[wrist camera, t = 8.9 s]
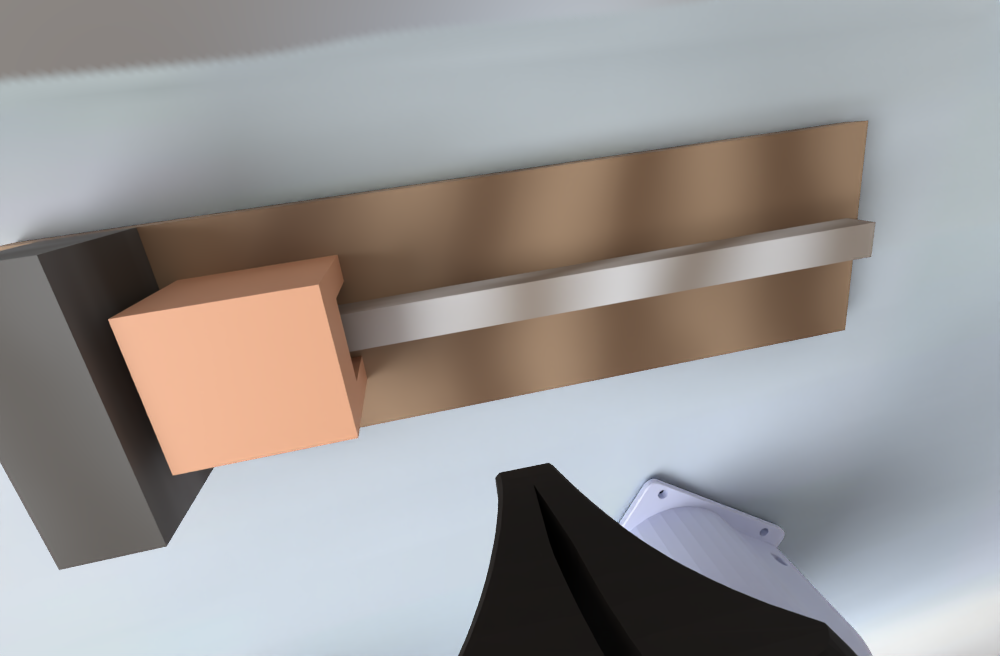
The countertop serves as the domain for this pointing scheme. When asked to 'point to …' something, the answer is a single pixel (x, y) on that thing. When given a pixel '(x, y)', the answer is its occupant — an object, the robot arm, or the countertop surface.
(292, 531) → the countertop surface
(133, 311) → the slider block
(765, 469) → the countertop surface
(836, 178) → the rail board
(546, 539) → the robot arm
